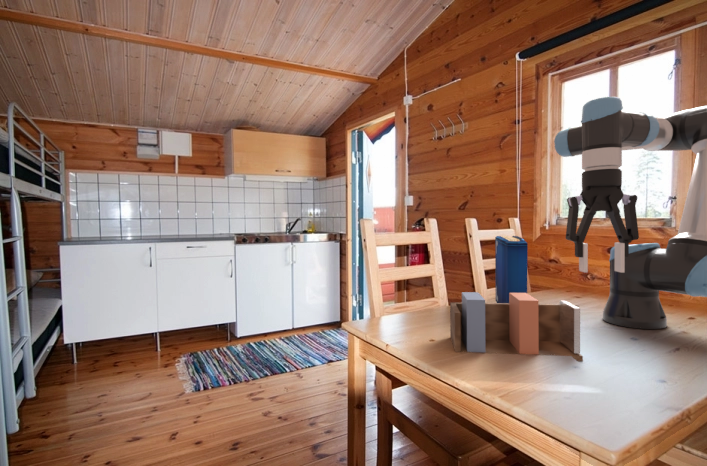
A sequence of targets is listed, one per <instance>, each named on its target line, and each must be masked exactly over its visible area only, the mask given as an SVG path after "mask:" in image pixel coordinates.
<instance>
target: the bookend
mask: <svg viewBox="0 0 707 466" xmlns="http://www.w3.org/2000/svg"><path fill="white" fill-rule="evenodd" d="M559 304H560V342H561V343H562V344H564V345H565V346H566V347H567V348H568V349H570V350H571V351H572V352H573V353H579V354H581V308H580V307H578V306H576V305H575V304H573V303H571V302H569V301H567V300H565V299H564V300H559Z"/></svg>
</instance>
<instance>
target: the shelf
mask: <svg viewBox="0 0 707 466" xmlns="http://www.w3.org/2000/svg"><path fill="white" fill-rule="evenodd" d="M449 311H450V312H449V313H450V316H449V317H450V321H449V322H450V328H449V331H450V334H449V335H450V340H451V343H452V346H453V350H454V353H471V354H472V353H473V354H474V353H476V354H499V355H500V354H501V355H520V354H519V352H518V351H517V350H516V349H515V347H514V346H513V345H512V344H511V342H510V341H509V303H497V302H485V352H467V350H466V348H465V345H464V343H463V340H462V302H453V301H451V302H449ZM538 323H539V354H525V355H530V356H531V355H532V356H534V355H535V356H555V357H556V356H557V357H559V356H561V357H564V356H565V357H572V358H573V359H574V361H578V362H579V361H582V362H583V361H584V360H583V359H584V356H583V355H582V354H581V353H580V354H579V353H573V352H572V351H571V350H570V349H568V348H567V347H566V346H565V345H564V344H562V343H561V342H560V303H538Z"/></svg>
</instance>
